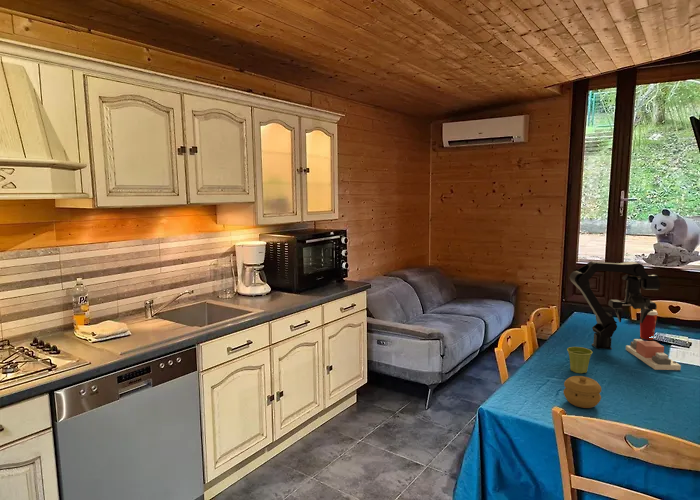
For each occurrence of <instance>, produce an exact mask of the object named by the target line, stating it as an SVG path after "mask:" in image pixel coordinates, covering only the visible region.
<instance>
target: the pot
mask: <svg viewBox="0 0 700 500" xmlns="http://www.w3.org/2000/svg"><path fill="white" fill-rule="evenodd" d="M563 387H564V389H563V392H562V393H563V396H564V397H565V399H566V400H567V402H568V403H570V404H571V405H573V406H575V407H578V408H583V409H592V408H594V407H596V406H597V405H598V404H599V403H600V401H601V400H602V396H601V394H600V393H602V386H601V385H600V384H599V383H598V381H597V380H595V379H594V378H591V377H589V376H583V375H573V376H570V377H568V378H566V379H565V381H564V382H563Z"/></svg>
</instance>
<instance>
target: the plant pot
mask: <svg viewBox="0 0 700 500" xmlns="http://www.w3.org/2000/svg"><path fill="white" fill-rule="evenodd" d="M566 350H567V352H568V357H569V365H570V366H569V367H570V371H571V372H573V373H576V374H584V373H585V374H587V372H588V370H589V369H588V368H589V363H590V359H591V356H592V354H593V351H592V350H591V349H589V348H586V347H583V346H582V347H581V346H570V347H567V349H566Z"/></svg>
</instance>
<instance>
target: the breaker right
mask: <svg viewBox="0 0 700 500" xmlns="http://www.w3.org/2000/svg"><path fill="white" fill-rule="evenodd" d="M655 357H657V358H658V359H668V358H669V355H668V354H666V353H665V352H664V353H656V356H655Z"/></svg>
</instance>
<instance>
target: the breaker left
mask: <svg viewBox="0 0 700 500" xmlns="http://www.w3.org/2000/svg"><path fill="white" fill-rule="evenodd" d="M637 341H644V339H642V338H634V339H633V341H632V342H633V343H635V344H636V345H637Z"/></svg>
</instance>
